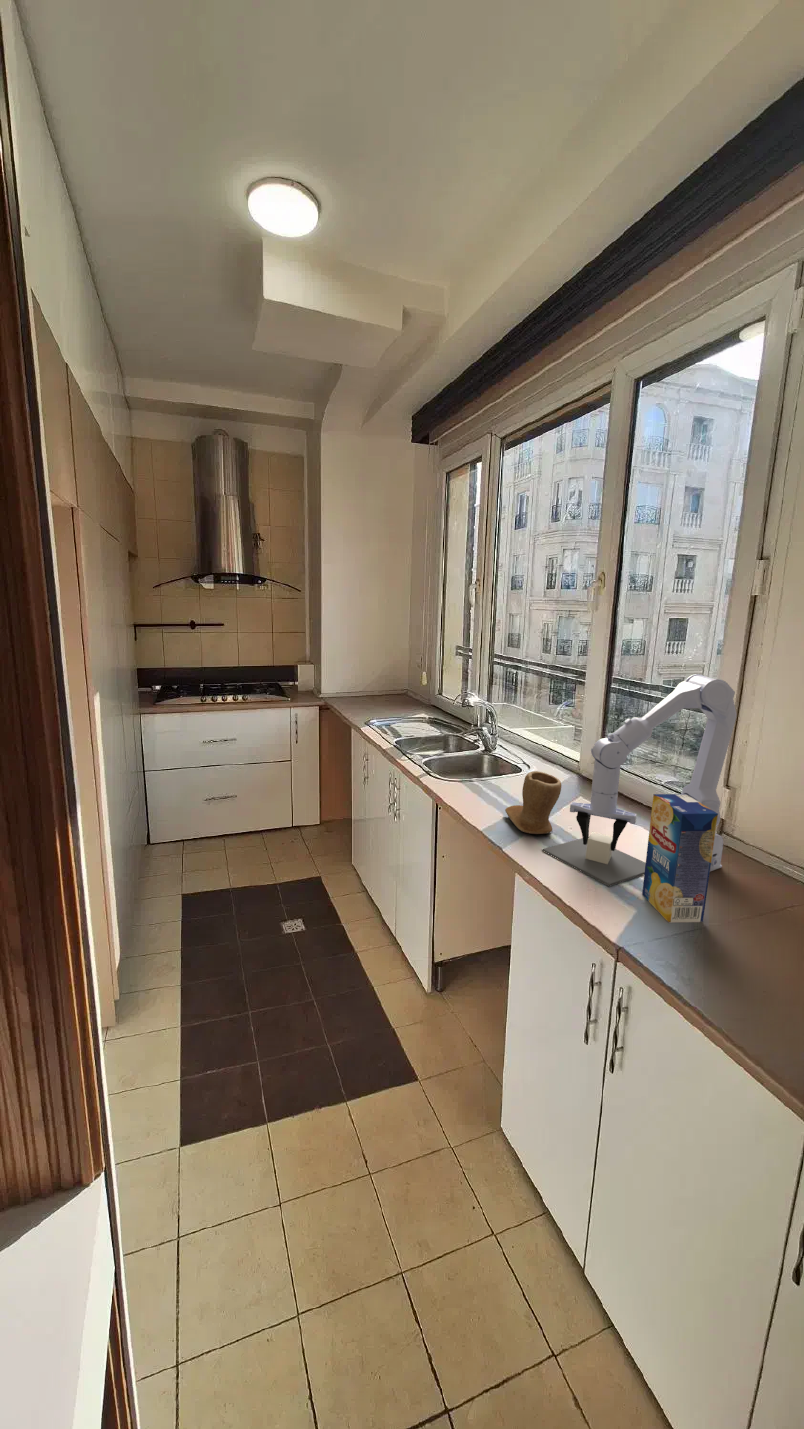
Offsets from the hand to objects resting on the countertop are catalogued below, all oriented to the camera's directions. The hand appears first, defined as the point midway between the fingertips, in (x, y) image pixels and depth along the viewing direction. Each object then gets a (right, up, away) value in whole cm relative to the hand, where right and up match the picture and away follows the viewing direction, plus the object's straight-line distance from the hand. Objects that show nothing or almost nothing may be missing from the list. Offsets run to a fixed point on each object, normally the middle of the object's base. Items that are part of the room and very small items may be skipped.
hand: (599, 846), depth 137 cm
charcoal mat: (0, -4, +1) cm, 4 cm away
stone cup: (-11, 0, +21) cm, 23 cm away
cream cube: (0, -3, +1) cm, 3 cm away
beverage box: (+8, -8, -20) cm, 23 cm away
